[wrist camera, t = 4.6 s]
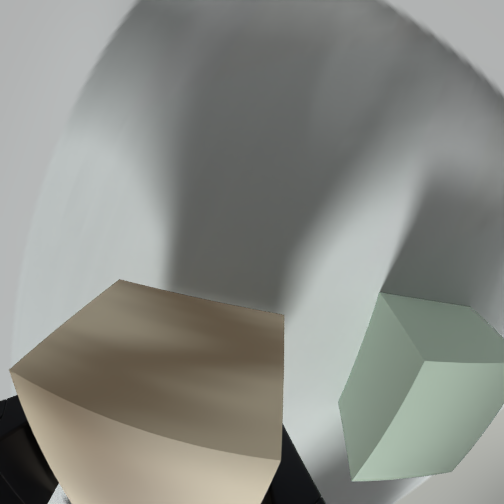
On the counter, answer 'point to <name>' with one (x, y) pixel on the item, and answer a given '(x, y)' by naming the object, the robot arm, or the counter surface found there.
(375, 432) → the sage green brick
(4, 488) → the robot arm
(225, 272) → the counter surface
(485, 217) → the counter surface
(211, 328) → the beech brick
